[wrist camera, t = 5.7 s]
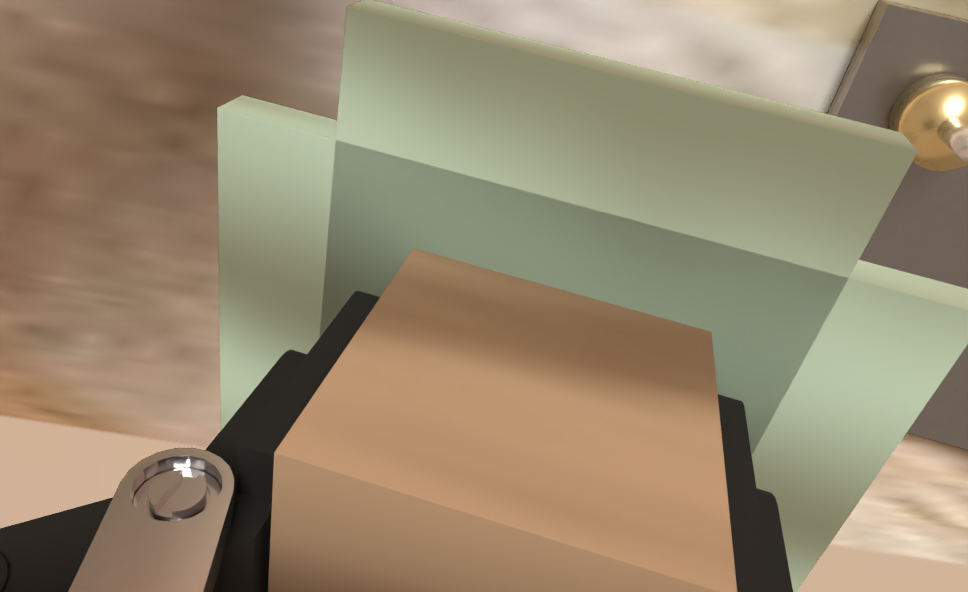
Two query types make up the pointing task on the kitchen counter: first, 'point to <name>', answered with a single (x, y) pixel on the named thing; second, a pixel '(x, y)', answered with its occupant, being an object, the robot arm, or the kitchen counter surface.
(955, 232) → the standoff base
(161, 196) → the kitchen counter surface
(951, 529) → the kitchen counter surface
